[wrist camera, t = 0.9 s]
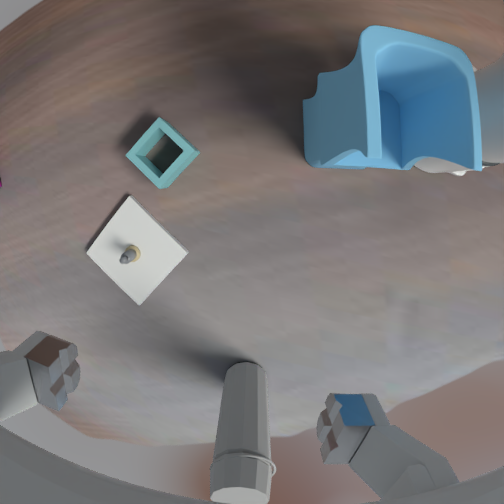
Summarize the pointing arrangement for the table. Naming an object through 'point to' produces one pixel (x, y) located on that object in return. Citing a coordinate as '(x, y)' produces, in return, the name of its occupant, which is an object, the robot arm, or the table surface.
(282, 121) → the table surface
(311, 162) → the vase
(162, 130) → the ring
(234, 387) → the water bottle
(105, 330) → the table surface
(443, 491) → the robot arm
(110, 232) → the post stand
